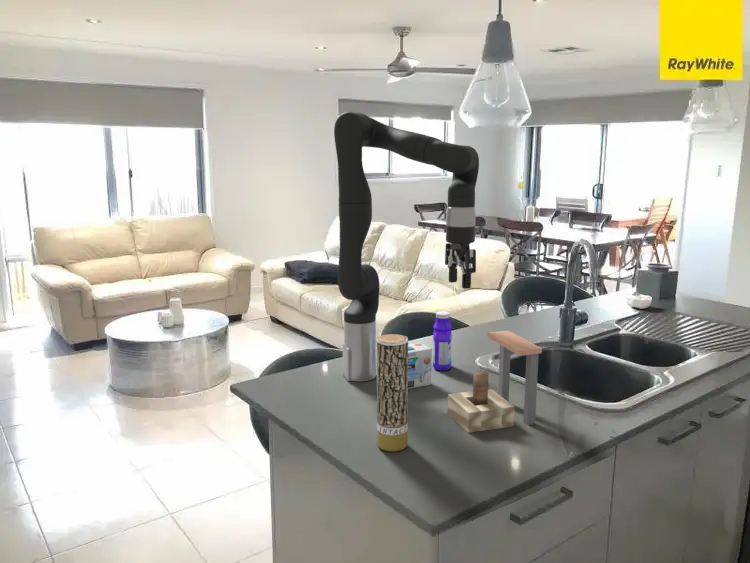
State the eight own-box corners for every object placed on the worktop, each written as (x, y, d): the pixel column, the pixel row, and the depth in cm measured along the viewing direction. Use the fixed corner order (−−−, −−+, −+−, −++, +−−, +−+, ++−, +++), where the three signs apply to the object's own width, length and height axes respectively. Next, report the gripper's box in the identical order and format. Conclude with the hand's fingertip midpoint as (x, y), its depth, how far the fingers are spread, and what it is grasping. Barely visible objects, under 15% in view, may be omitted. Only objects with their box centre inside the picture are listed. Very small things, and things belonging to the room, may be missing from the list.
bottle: (450, 372, 185) (451, 316, 181) (431, 371, 186) (432, 315, 182) (452, 364, 192) (453, 310, 188) (434, 363, 193) (434, 309, 189)
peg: (489, 421, 150) (491, 374, 148) (476, 423, 149) (477, 376, 147) (482, 415, 154) (484, 369, 151) (469, 417, 153) (470, 371, 150)
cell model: (637, 312, 255) (638, 296, 253) (618, 305, 266) (619, 290, 265) (657, 310, 257) (659, 294, 256) (638, 304, 269) (639, 288, 267)
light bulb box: (399, 391, 170) (399, 353, 168) (388, 383, 176) (388, 347, 174) (432, 384, 175) (432, 348, 173) (420, 377, 181) (420, 342, 179)
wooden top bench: (515, 427, 147) (519, 350, 143) (485, 402, 162) (487, 332, 158) (538, 424, 148) (541, 348, 144) (505, 400, 163) (508, 330, 159)
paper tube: (376, 439, 141) (375, 334, 136) (405, 438, 141) (405, 333, 136) (378, 453, 134) (378, 343, 129) (409, 452, 135) (410, 342, 130)
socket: (467, 432, 144) (468, 412, 143) (447, 412, 155) (447, 394, 154) (513, 426, 147) (514, 406, 146) (490, 407, 159) (491, 388, 158)
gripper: (486, 226, 154) (484, 289, 157) (462, 221, 167) (461, 279, 171) (458, 227, 152) (457, 291, 155) (436, 221, 165) (435, 281, 169)
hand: (459, 285), depth 163 cm, fingers open, 8 cm apart
